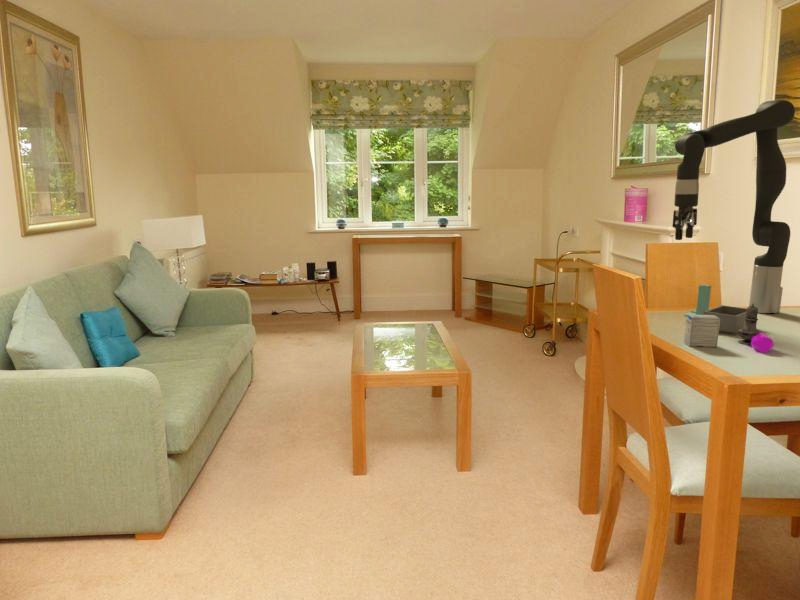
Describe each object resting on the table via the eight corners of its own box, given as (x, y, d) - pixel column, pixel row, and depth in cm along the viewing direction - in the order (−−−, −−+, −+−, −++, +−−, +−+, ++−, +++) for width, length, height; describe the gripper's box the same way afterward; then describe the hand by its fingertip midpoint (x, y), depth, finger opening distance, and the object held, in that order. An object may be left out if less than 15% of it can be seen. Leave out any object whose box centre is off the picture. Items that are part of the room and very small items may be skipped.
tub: (720, 322, 210) (721, 305, 209) (752, 327, 203) (754, 309, 202) (701, 329, 199) (703, 311, 198) (735, 335, 192) (737, 316, 191)
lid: (701, 310, 232) (705, 279, 230) (733, 315, 224) (737, 282, 222) (683, 316, 220) (686, 283, 218) (715, 321, 213) (719, 287, 210)
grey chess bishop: (752, 346, 179) (757, 305, 177) (732, 342, 184) (737, 302, 182) (763, 344, 182) (768, 304, 180) (743, 339, 187) (748, 300, 185)
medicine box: (711, 343, 182) (714, 315, 180) (717, 347, 177) (720, 318, 176) (683, 342, 182) (686, 314, 181) (688, 346, 178) (691, 317, 176)
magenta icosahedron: (747, 349, 176) (749, 333, 176) (760, 347, 178) (762, 332, 178) (763, 353, 172) (765, 337, 171) (777, 352, 174) (779, 336, 173)
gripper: (688, 193, 210) (685, 241, 214) (706, 191, 220) (702, 237, 223) (667, 193, 216) (664, 240, 219) (684, 191, 225) (681, 236, 229)
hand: (683, 238), depth 221 cm, fingers open, 8 cm apart
